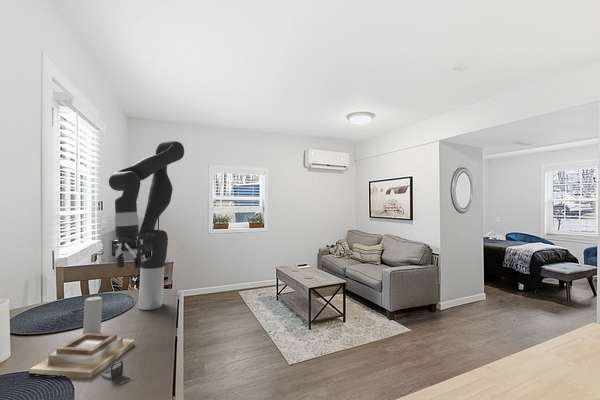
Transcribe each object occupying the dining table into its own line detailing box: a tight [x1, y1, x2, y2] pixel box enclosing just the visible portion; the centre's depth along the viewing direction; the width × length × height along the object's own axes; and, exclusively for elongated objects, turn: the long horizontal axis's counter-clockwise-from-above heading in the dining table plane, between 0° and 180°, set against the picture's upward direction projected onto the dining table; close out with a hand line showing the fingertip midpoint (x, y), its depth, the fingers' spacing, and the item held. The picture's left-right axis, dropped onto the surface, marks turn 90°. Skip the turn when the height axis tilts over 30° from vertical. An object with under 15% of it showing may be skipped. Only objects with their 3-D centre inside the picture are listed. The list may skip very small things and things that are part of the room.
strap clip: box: [101, 360, 132, 386], centre depth 72 cm, size 8×3×4 cm, turn 62°
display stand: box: [28, 333, 136, 379], centre depth 80 cm, size 18×16×5 cm
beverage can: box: [82, 295, 103, 335], centre depth 95 cm, size 5×5×12 cm
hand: (129, 267), depth 107 cm, fingers open, 8 cm apart
